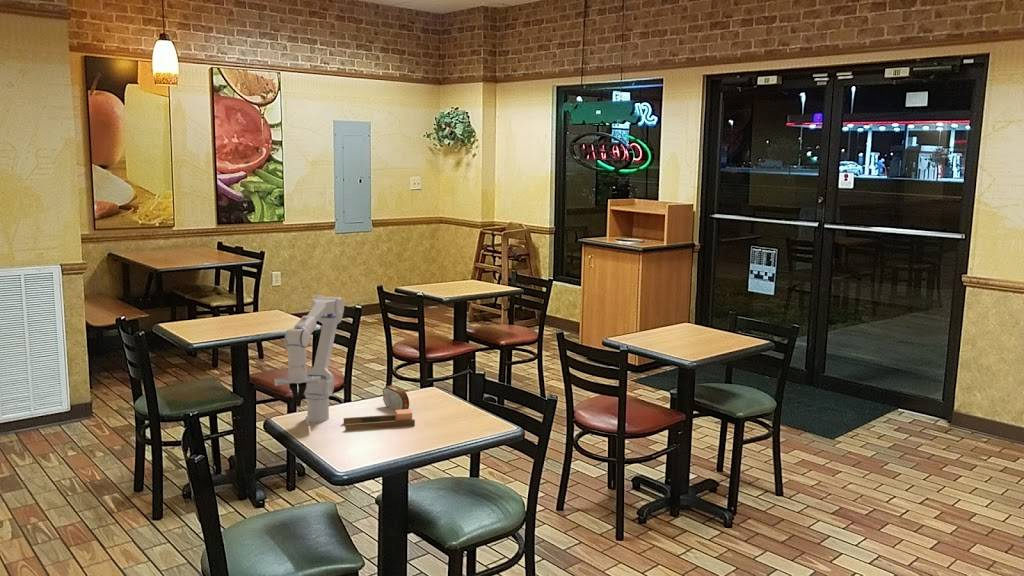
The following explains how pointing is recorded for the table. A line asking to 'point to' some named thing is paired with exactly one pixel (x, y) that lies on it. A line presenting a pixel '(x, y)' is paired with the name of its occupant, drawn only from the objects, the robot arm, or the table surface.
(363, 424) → the chute
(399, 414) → the block
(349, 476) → the table surface
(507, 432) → the table surface
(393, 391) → the tin
